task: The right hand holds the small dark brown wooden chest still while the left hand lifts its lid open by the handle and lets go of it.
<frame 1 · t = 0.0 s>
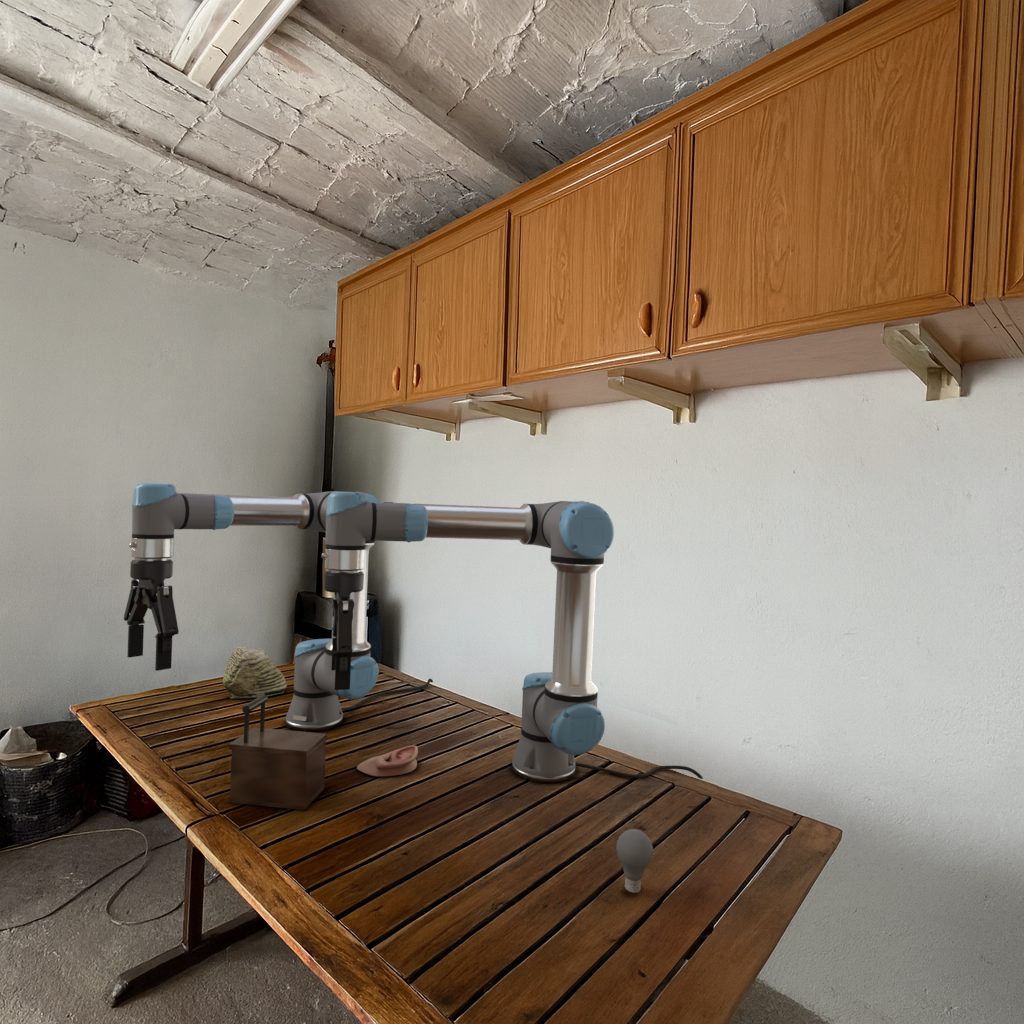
left hand: (148, 662, 129), 28 cm above the table, tool pointing down, fingers open, 13 cm apart
right hand: (340, 679, 124), 28 cm above the table, tool pointing down, fingers open, 13 cm apart
chest: (278, 795, 134), on the table
fossil: (254, 694, 198), on the table
anatomical model: (387, 767, 149), on the table
light bulb: (632, 891, 106), on the table
lid: (279, 722, 133), point 15 cm above the table, hinge at 0.0°
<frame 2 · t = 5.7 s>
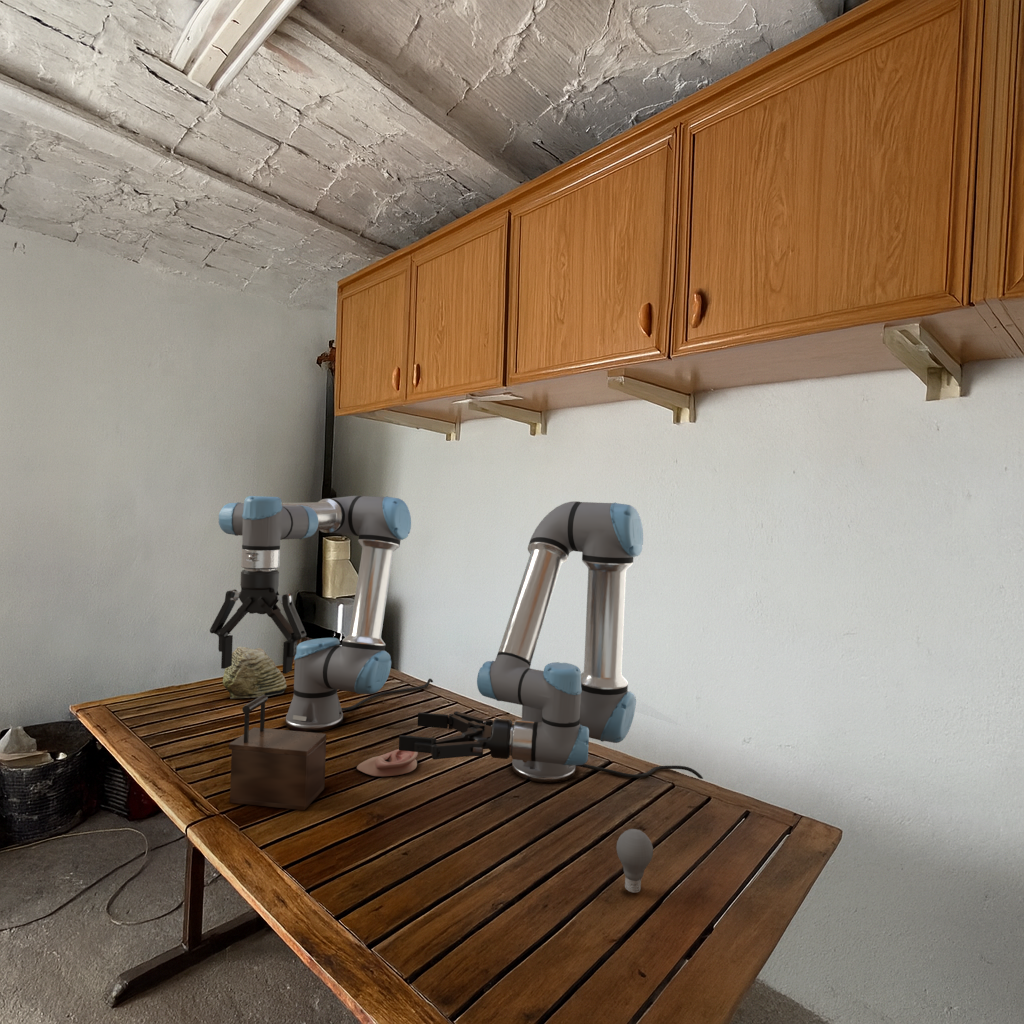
left hand: (256, 669, 134), 26 cm above the table, tool pointing down, fingers open, 13 cm apart
right hand: (409, 730, 130), 16 cm above the table, tool horizontal, fingers open, 13 cm apart
nothing on the table moved.
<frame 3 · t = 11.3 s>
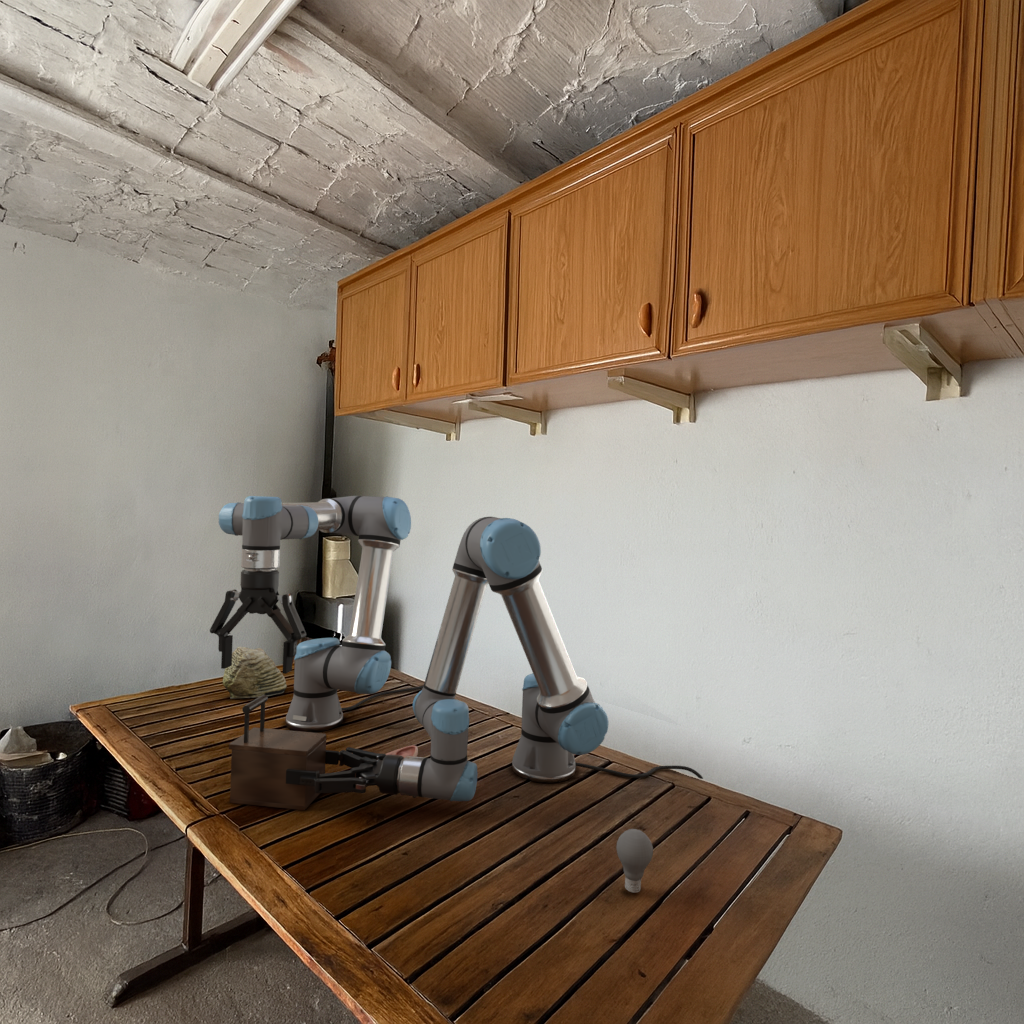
left hand: (256, 669, 134), 26 cm above the table, tool pointing down, fingers open, 13 cm apart
right hand: (298, 765, 133), 7 cm above the table, tool horizontal, fingers closed on chest, 10 cm apart
chest: (278, 795, 134), on the table, touching right hand
everything else where it was.
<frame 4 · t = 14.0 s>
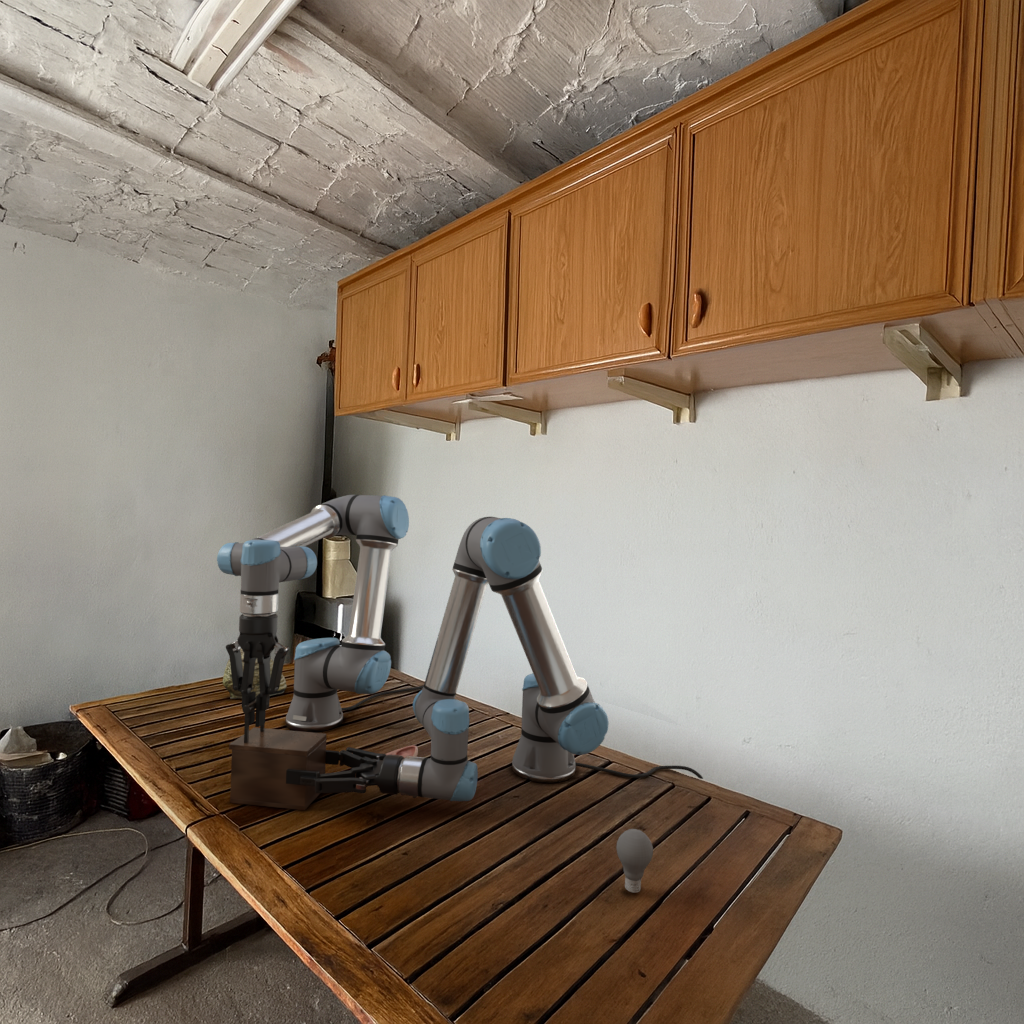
left hand: (254, 724, 134), 15 cm above the table, tool pointing down, fingers closed on lid, 2 cm apart
right hand: (298, 765, 133), 7 cm above the table, tool horizontal, fingers closed on chest, 10 cm apart
chest: (278, 795, 134), on the table, touching right hand
lid: (279, 722, 133), point 15 cm above the table, hinge at -0.1°, touching left hand
everything else where it was.
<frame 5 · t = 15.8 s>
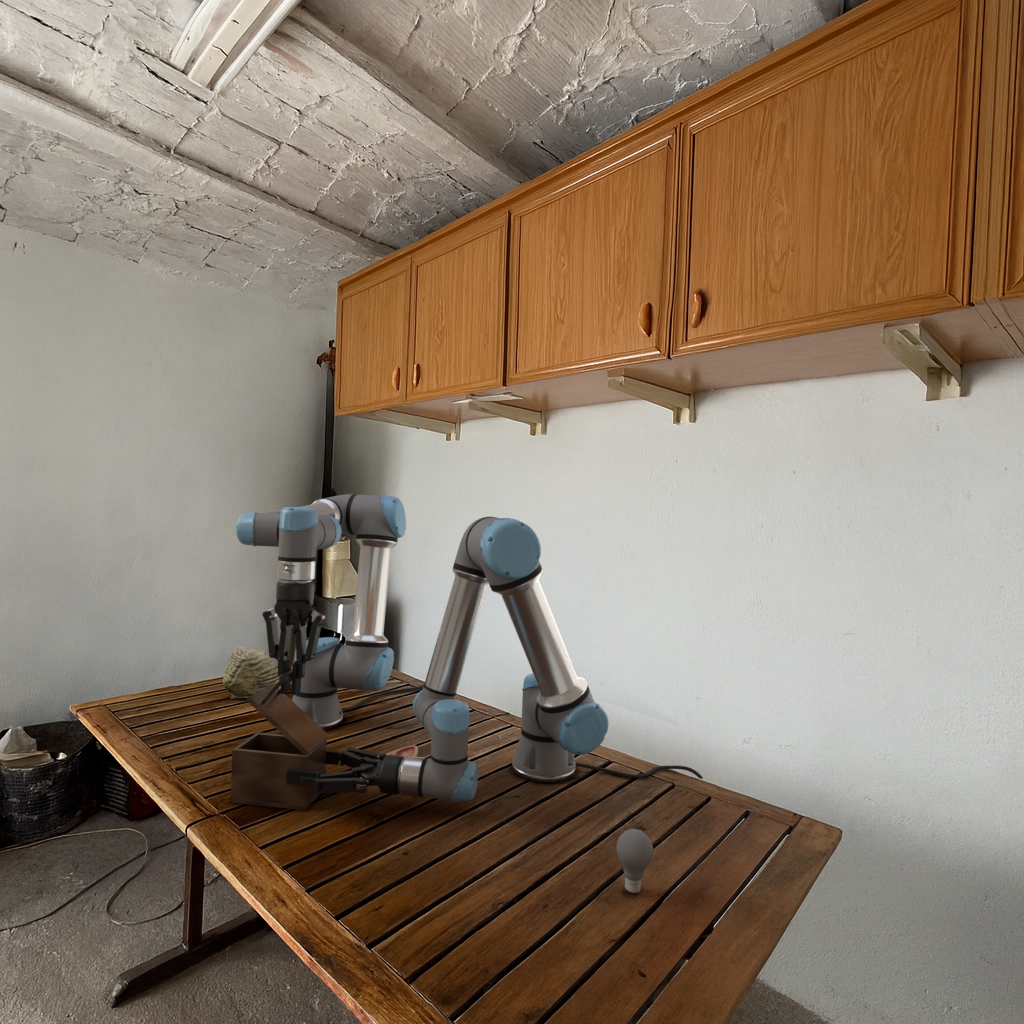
left hand: (290, 692, 133), 22 cm above the table, tool pointing down, fingers closed on lid, 2 cm apart
right hand: (299, 765, 133), 7 cm above the table, tool horizontal, fingers closed on chest, 10 cm apart
chest: (279, 795, 134), on the table, touching right hand
lid: (299, 704, 133), point 20 cm above the table, hinge at 37.9°, touching left hand
everything else where it was.
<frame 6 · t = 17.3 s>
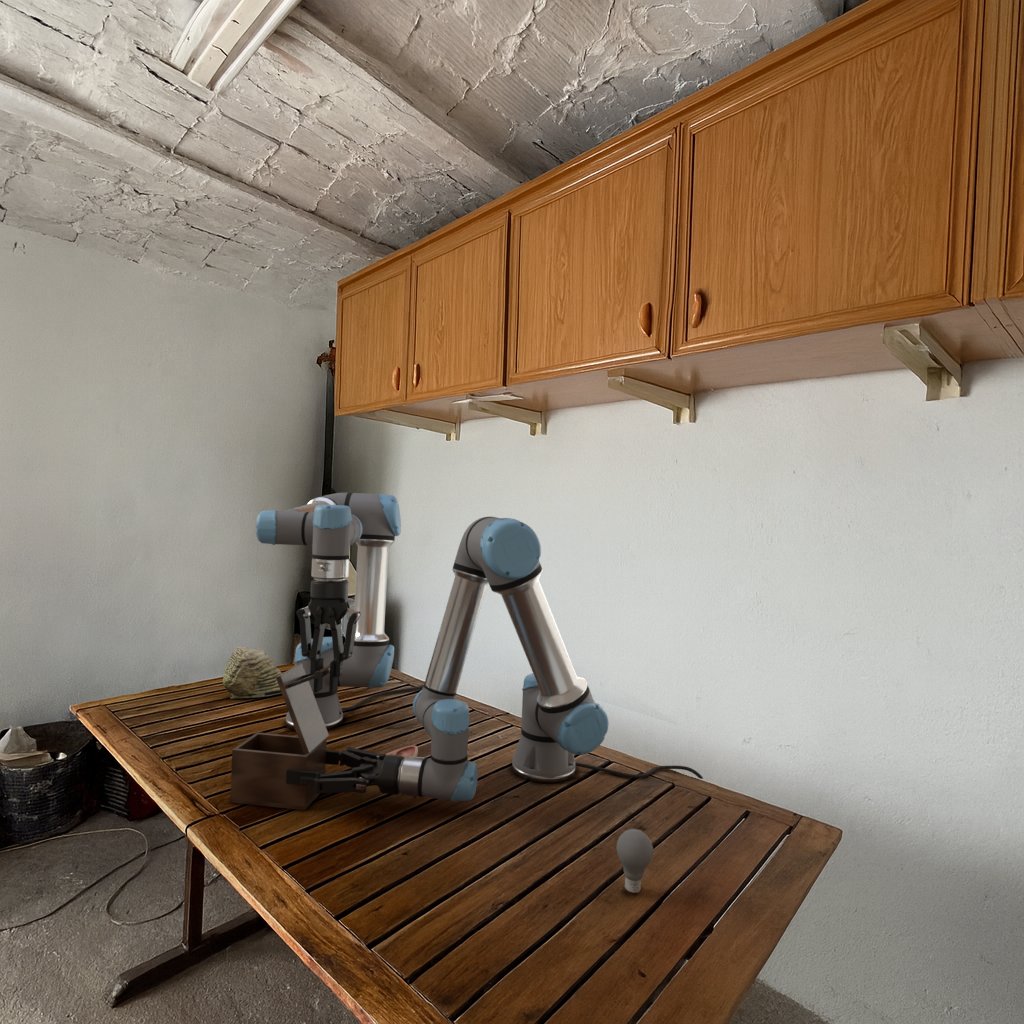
left hand: (325, 691, 132), 23 cm above the table, tool pointing down, fingers open, 3 cm apart
right hand: (298, 765, 133), 7 cm above the table, tool horizontal, fingers closed on chest, 10 cm apart
chest: (278, 795, 134), on the table, touching right hand
lid: (319, 701, 132), point 21 cm above the table, hinge at 66.0°
everything else where it was.
when the right hand's fingers open (7 cm above the table, at t = 21.2 s): chest stays where it is, on the table.
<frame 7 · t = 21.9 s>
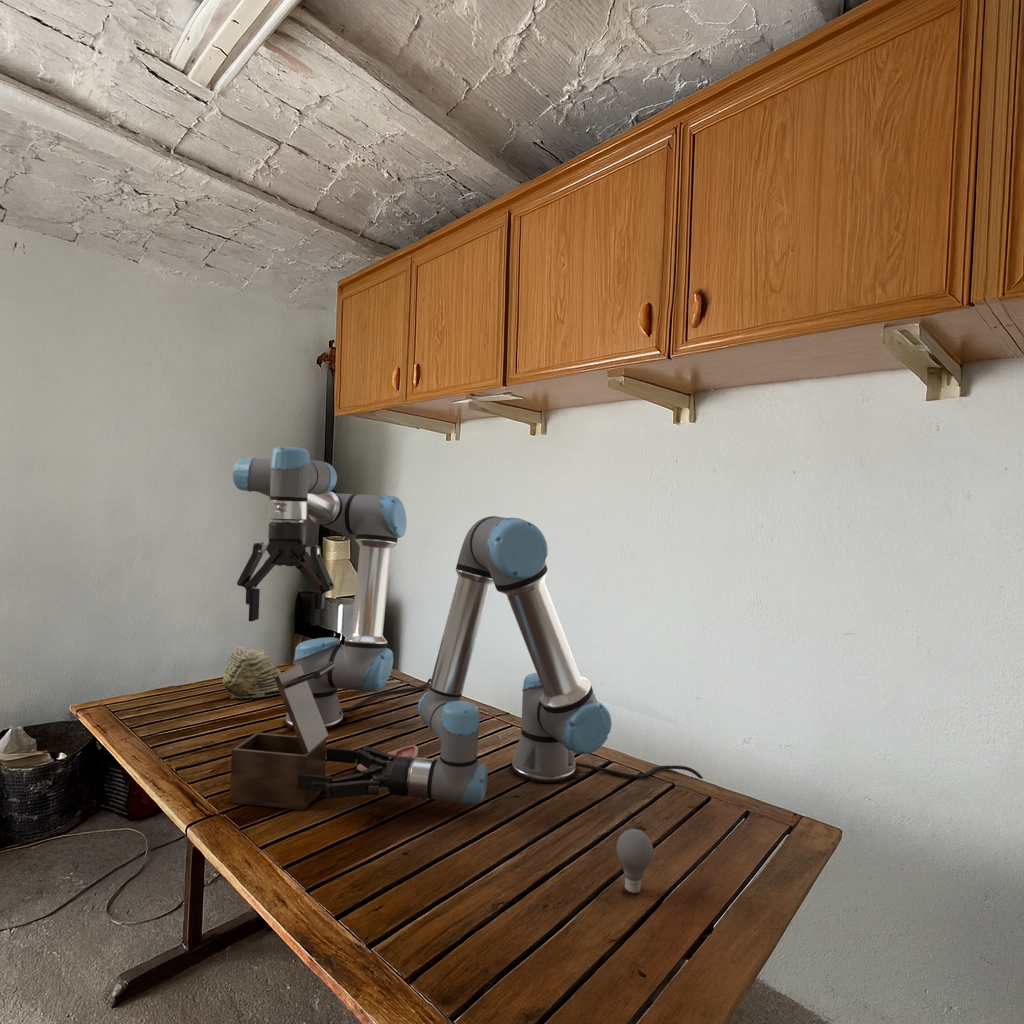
left hand: (284, 622, 133), 37 cm above the table, tool pointing down, fingers open, 13 cm apart
right hand: (313, 766, 133), 7 cm above the table, tool horizontal, fingers open, 13 cm apart
chest: (278, 795, 134), on the table
lid: (318, 700, 132), point 21 cm above the table, hinge at 65.2°
everything else where it was.
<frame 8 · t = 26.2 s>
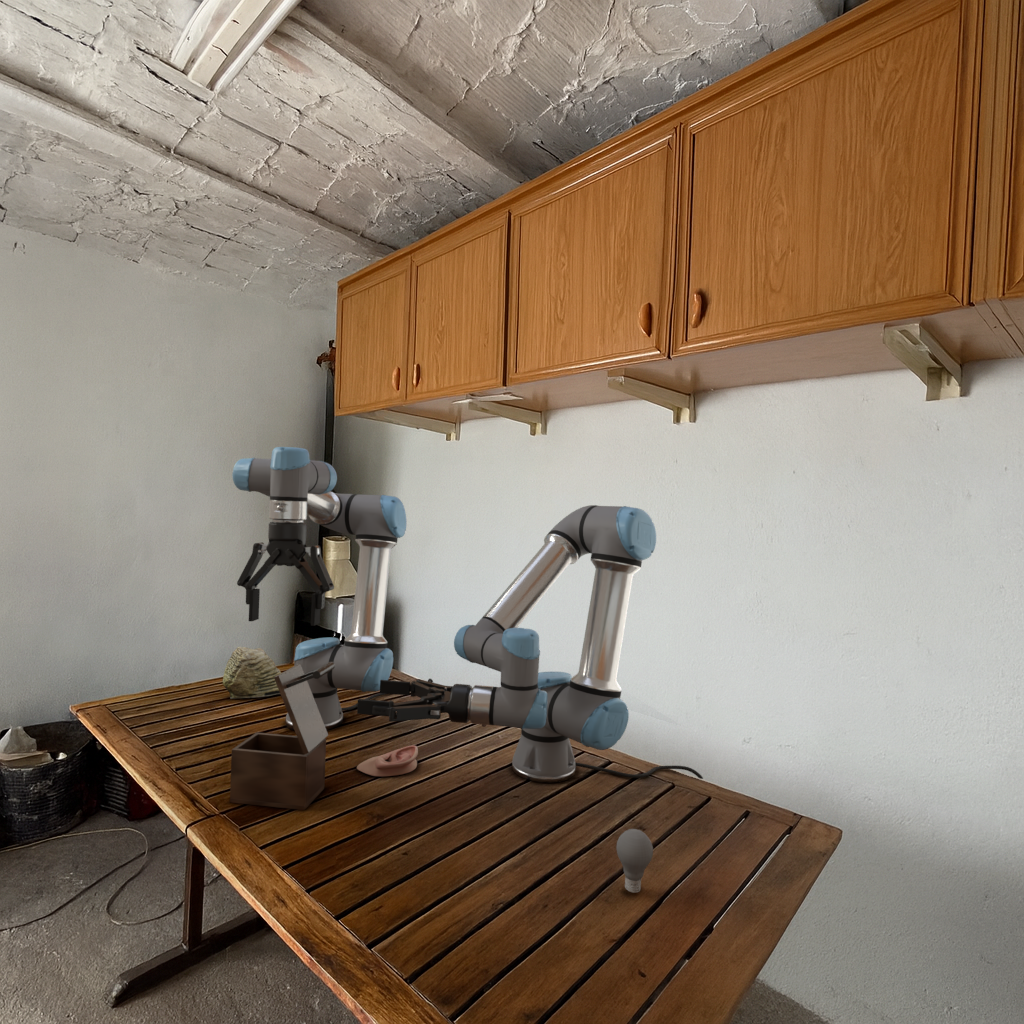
left hand: (284, 622, 133), 37 cm above the table, tool pointing down, fingers open, 13 cm apart
right hand: (369, 695, 131), 23 cm above the table, tool horizontal, fingers open, 13 cm apart
nothing on the table moved.
at the end: lid at +65° (first picture: +0°); the left hand is holding nothing; the right hand is holding nothing; chest tilted 0°; chest never tilted more than 1° during the clip; chest moved 0.1 cm from its start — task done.
